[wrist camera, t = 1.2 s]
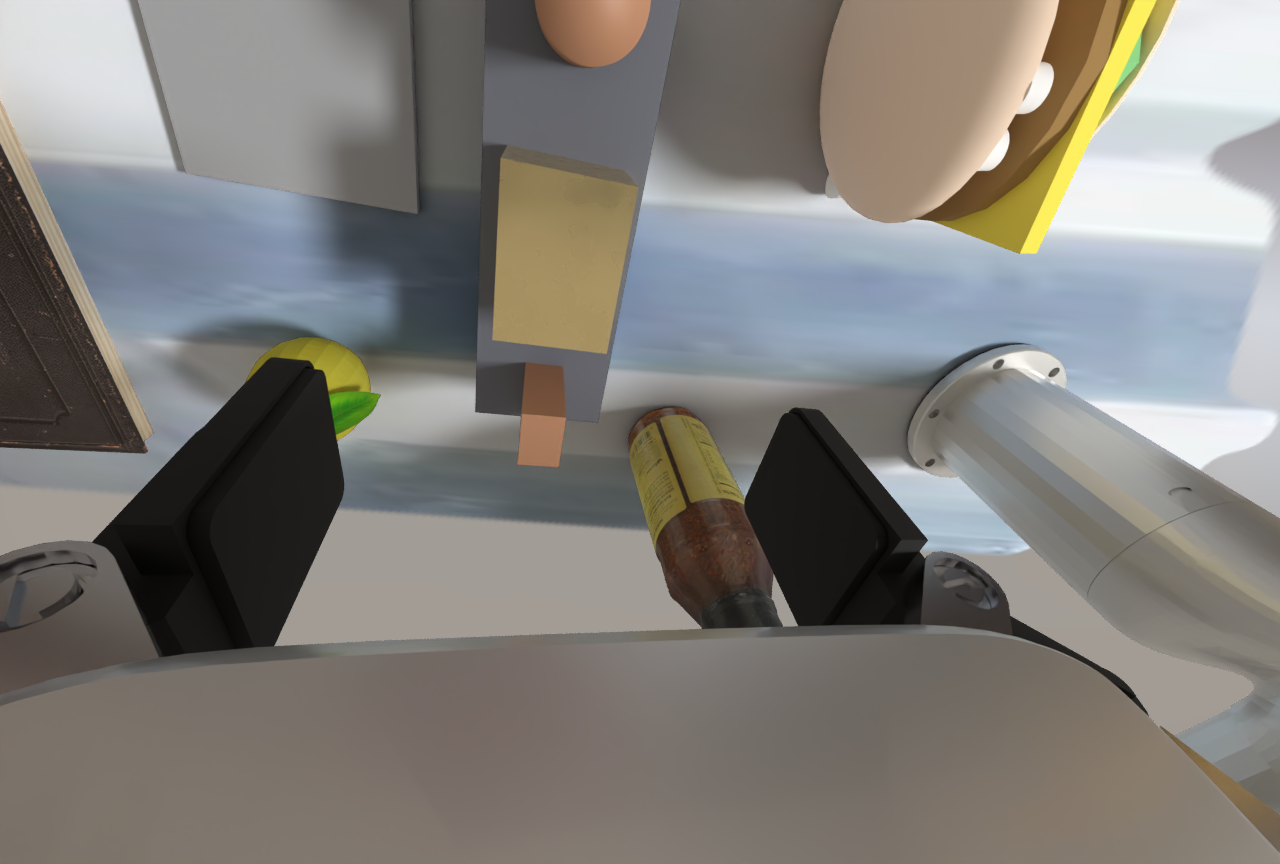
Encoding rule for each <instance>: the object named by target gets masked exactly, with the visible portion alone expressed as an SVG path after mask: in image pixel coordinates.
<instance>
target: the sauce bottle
mask: <svg viewBox="0 0 1280 864" xmlns="http://www.w3.org/2000/svg"><path fill="white" fill-rule="evenodd" d="M628 444H629V446H628V447H629V454H630V464H631V467H632V471H633V474H634V478H635V481H636V485H637V489H638V492H639V496H640V500H641V503H642V507H643V511H644V514H645V518H646V521H647V525H648V528H649V531H650V535H651V538H652V541H653V544H654V548H655V552H656V555H657V557H658V559H659V561H660V562H661V566H662V569H663V573H664V576H665V581H666V583H667V587H668V589H669V593H670V596H671V597H672V598H673V599H674V600H675V601H676V602H678V603H679V604H680V605H681V606H682V607H683V608H684V609H685V611H686V612H687V613H688V614H689V615H690V616H691V617H692V618H693V619H694V620H695V621H696V622H697V623H698V624H699V625H700V626H701V627H702V629H721V628H757V627H783V625H782V623H781V621H780V619H779V617H778V615H777V610H776V607H775V604H774V602H773V600H772V599H771V597H772V596H771V595H772V582H773V574H774V573H773V571H772V569H771V567H770V565H769V562H768V560H767V558H766V556H765V554H764V552H763V550H762V547H761V545H760V543H759V541H758V539H757V537H756V535H755V533H754V530H753V528H752V526H751V524H750V522H749V520H748V518H747V515H746V513H745V509H744V502H745V498H744V496H743V495H742V493H741V491H740V489H739V487H738V485H737V483H736V481H735V480H734V478H733V476H732V474H731V472H730V470H729V468H728V466H727V465H726V463H725V461H724V459H723V457H722V455H721V453H720V451H719V449H718V448H717V446H716V444H715V442H714V440H713V438H712V436H711V434H710V432H709V430H708V429H707V428H706V426H705V425H704V424H703V423H702V422H701V421H700V419H698V418H697V417H696V416H695V415H694V414H692V413H691V412H689V411H688V410H686V409H684V408H681V407H679V408H676V407H670V408H663V409H659V410H654V411H651V412H649V413H648V414H646V415H645V416H643V417H642V418H641V419H640V420H639V421H638V422H637V424H636V425H635V426H634V427H633V429H632V431H631V432H630V435H629V441H628Z"/></svg>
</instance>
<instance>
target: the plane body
mask: <svg viewBox="0 0 1280 864" xmlns="http://www.w3.org/2000/svg"><path fill="white" fill-rule="evenodd" d="M680 2H681V0H486V20H485V59H484V98H483V136H482V175H481V214H480V253H479V291H478V330H477V369H476V407H475V412H479V413H491V414H502V415H514V416H521V423H520V438H519V452H518V465H531V466H547V467H559V463H560V456H561V449H562V443H563V436H564V429H565V423H566V420H572V421H584V422H596V423H598V420H599V415H600V409H601V404H602V399H603V394H604V389H605V384H606V379H607V374H608V369H609V364H610V358H611V353H612V348H613V343H614V338H615V333H616V328H617V323H618V318H619V313H620V308H621V302H622V297H623V292H624V287H625V282H626V277H627V272H628V267H629V262H630V257H631V251H632V246H633V241H634V236H635V231H636V226H637V221H638V216H639V211H640V206H641V200H642V195H643V190H644V185H645V180H646V175H647V170H648V165H649V160H650V155H651V149H652V144H653V139H654V134H655V129H656V124H657V119H658V114H659V109H660V104H661V98H662V93H663V88H664V83H665V78H666V73H667V68H668V63H669V58H670V53H671V47H672V42H673V37H674V32H675V27H676V22H677V17H678V12H679V7H680ZM507 145H511V146H515V147H520V148H525V149H529V150H534V151H538V152H543V153H547V154H552V155H557V156H561V157H566V158H570V159H575V160H579V161H584V162H588V163H593V164H598V165H602V166H607V167H611V168H616V169H620V170H625V171H626V173H627V174H628V175H629V176H630V177H631V179H632V180H633V181H634V182H635V183H636V185H637V186H638V192H637V198H636V203H635V208H634V214H633V219H632V224H631V229H630V235H629V240H628V245H627V250H626V256H625V261H624V266H623V271H622V277H621V282H620V287H619V292H618V298H617V303H616V308H615V313H614V319H613V324H612V329H611V334H610V340H609V345H608V350H607V354H603V353H595V352H587V351H578V350H570V349H562V348H554V347H545V346H537V345H529V344H521V343H513V342H504V341H496V340H492V339H493V317H494V294H495V272H496V250H497V227H498V205H499V183H500V160H501V156H502V154H503V152H504V151H505V149H506V147H507Z"/></svg>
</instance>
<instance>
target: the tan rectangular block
mask: <svg viewBox="0 0 1280 864" xmlns="http://www.w3.org/2000/svg"><path fill="white" fill-rule="evenodd" d="M637 192H638V186H637V185H636V183H635V182H634V181H633V180H632V179H631V177H630V176H629V175H628V174H627V173H626V171H625V170H620V169H616V168H611V167H607V166H602V165H598V164H593V163H588V162H584V161H579V160H575V159H570V158H566V157H561V156H557V155H552V154H547V153H543V152H538V151H534V150H529V149H525V148H520V147H515V146H511V145H507V147H506V149H505V151H504V152H503V154H502V156H501V160H500V183H499V205H498V227H497V250H496V272H495V294H494V317H493V339H492V340H496V341H504V342H513V343H521V344H529V345H537V346H545V347H554V348H562V349H570V350H578V351H587V352H595V353H603V354H607V350H608V345H609V340H610V334H611V329H612V324H613V319H614V313H615V308H616V303H617V298H618V292H619V287H620V282H621V277H622V271H623V266H624V261H625V256H626V250H627V245H628V240H629V235H630V229H631V224H632V219H633V214H634V208H635V203H636V198H637Z"/></svg>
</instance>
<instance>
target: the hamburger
mask: <svg viewBox="0 0 1280 864" xmlns="http://www.w3.org/2000/svg"><path fill="white" fill-rule="evenodd" d="M1179 2H1180V0H843V3H842V5H841V8H840V11H839V14H838V17H837V19H836V22H835V26H834V29H833V33H832V36H831V40H830V43H829V47H828V52H827V56H826V61H825V66H824V72H823V79H822V86H821V97H820V132H821V143H822V148H823V153H824V158H825V163H826V166H827V169H828V172H829V175H828V177H827V181H826V186H825V191H826V195H827V197H828V198H843V199H844V200H845V202H846V203H847V204H848V205H849V206H850V207H851V208H852V209H853V210H855V211H856V212H858V213H860V214H861V215H863V216H865V217H866V218H868V219H871V220H875V221H879V222H884V223H898V222H906V221H909V220H912V219H919V220H929V221H933V222H936V223H939V224H941V225H944V226H947V227H949V228H952V229H955V230H957V231H960V232H963V233H965V234H968V235H971V236H973V237H976V238H979V239H981V240H984V241H987V242H989V243H992V244H995V245H997V246H1000V247H1003V248H1005V249H1008V250H1011V251H1013V252H1016V253H1019V254H1027V253H1037V251H1038V249H1039V247H1040V245H1041V243H1042V241H1043V238H1044V236H1045V234H1046V232H1047V230H1048V228H1049V226H1050V224H1051V222H1052V219H1053V217H1054V215H1055V213H1056V211H1057V209H1058V207H1059V205H1060V203H1061V201H1062V198H1063V196H1064V194H1065V192H1066V190H1067V188H1068V186H1069V184H1070V182H1071V179H1072V177H1073V175H1074V173H1075V171H1076V169H1077V167H1078V165H1079V163H1080V160H1081V158H1082V156H1083V154H1084V152H1085V150H1086V148H1087V146H1088V144H1089V142H1090V140H1091V139H1092V138H1093V136H1094V135H1095V134H1096V133H1097V132H1098V131H1099V130H1100V128H1101V127H1102V126H1103V125H1104V124H1105V123H1106V122H1107V120H1108V119H1109V118H1110V117H1111V116H1112V115H1113V114H1114V112H1115V111H1116V110H1117V108H1118V107H1119V106H1120V104H1121V103H1122V101H1123V100H1124V99H1125V97H1126V96H1127V95H1128V93H1129V92H1130V90H1131V89H1132V88H1133V86H1134V85H1135V83H1136V82H1137V81H1138V79H1139V78H1140V77H1141V75H1142V73H1143V72H1144V70H1145V68H1146V66H1147V65H1148V63H1149V61H1150V60H1151V58H1152V56H1153V54H1154V53H1155V51H1156V49H1157V48H1158V46H1159V44H1160V43H1161V41H1162V39H1163V37H1164V36H1165V33H1166V31H1167V29H1168V27H1169V25H1170V22H1171V20H1172V18H1173V16H1174V13H1175V11H1176V9H1177V7H1178V5H1179Z"/></svg>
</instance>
